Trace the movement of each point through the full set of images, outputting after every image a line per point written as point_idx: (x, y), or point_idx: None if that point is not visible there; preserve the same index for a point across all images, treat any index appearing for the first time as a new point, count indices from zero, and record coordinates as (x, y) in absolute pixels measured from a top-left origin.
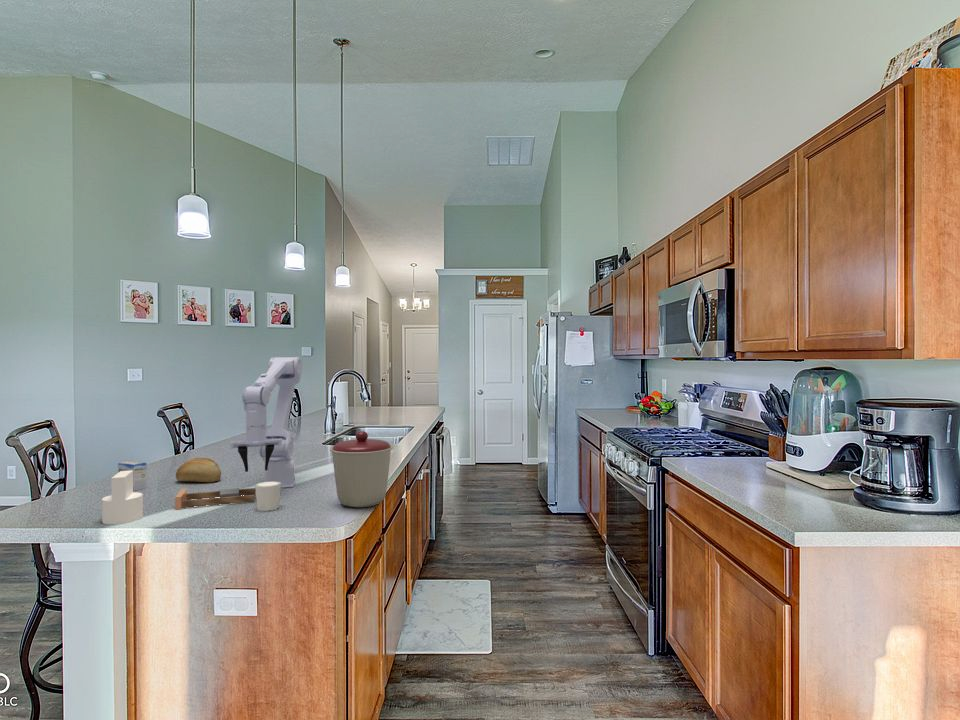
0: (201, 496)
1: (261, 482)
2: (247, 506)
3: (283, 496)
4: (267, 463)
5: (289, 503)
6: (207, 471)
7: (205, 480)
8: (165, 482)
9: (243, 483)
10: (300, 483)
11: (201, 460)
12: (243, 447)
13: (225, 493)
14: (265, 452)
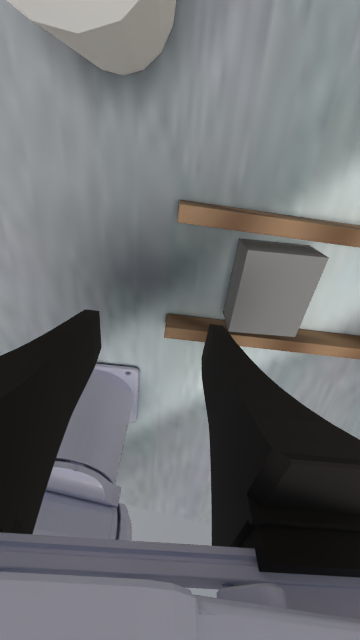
0: (345, 340)
1: (125, 10)
2: (218, 124)
3: (59, 244)
4: (59, 328)
5: (4, 64)
6: None
7: None
8: None
9: (188, 443)
10: None
11: None
12: (298, 543)
13: (299, 268)
14: (6, 394)
